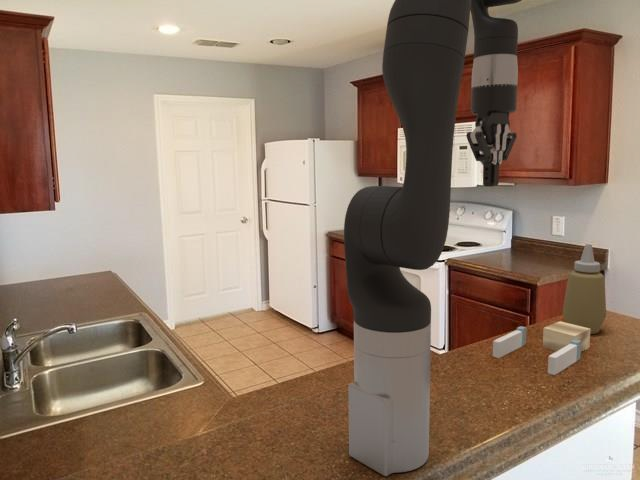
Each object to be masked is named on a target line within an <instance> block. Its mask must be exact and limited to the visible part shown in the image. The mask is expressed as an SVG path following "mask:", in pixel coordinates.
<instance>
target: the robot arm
mask: <svg viewBox="0 0 640 480" xmlns="http://www.w3.org/2000/svg"><path fill="white" fill-rule="evenodd" d="M521 1H523V0H394V2H393V3H392V5H391V8H390V11H389V14H388V19H387V23H386V24H387V25H386V32H385V36H384V37H385V39H384V47H383V52H382V53H383V54H382V71H381V73H382V77H383V82H384V85H385V88H386V91H387V93H388V96H389V99H390V101H391V105H393V108H394V110H395V112H396V115H397V116H398V120H399V122H400V124H401V126H402V130H403V134H404V138H405V139H404V140H405V150H406V151H405V153H406V155H405V170H404V177H403V178H404V179H403V184H402V186H390V185H389V186H387V185H369V186H365V187H363V188H361V189H359V190H358V191H356V193H354V195H353V196H352V197H351V199H350V201H349V203H348V206H347V209H346V213H345V215H344V216H345V217H344V224H343V243H344V244H343V246H344V247H343V248H344V260H345V263H344V264H345V276H346V277H345V278H346V279H345V280H346V293H347V296H348V300H349V302H350V304H351V306H352V311H353V378H354V379H353V382H350V383H349V384H348V389H347V390H348V391H347V392H348V395H347V396H348V455H349V457H351V458H353V459H355V460H357V461H358V462H360V463H361V464H363V465H365V466H366V467H368V468H370V469H371V470H374V471H375V472H377V473H378V474H381V476H384V477H388V476H389V475H391V474H394V473H405V472H410V471H413V470H417V469H419V468H421V467H422V466H423V465H425V464H426V462H428V459H429V454H430V450H429V449H430V410H431V409H430V404H431V403H430V399H431V397H430V395H431V347H432V345H431V343H432V340H431V338H432V337H431V336H432V304H431V300H430V299H429V297H428V296H427V295H426V293H424V292H422V291H421V290H420V289H418V288H417V287H416V286H414V285H413V284H412V283H411V282H410V281H409V280H408V279H407V278H406V277H405V276H404V274H403V273H402V271H401V268H402V269H409V270H415V271H423V270H427V269H429V268H431V267H433V266H434V265H435V264H436V263H437V261H438V260H440V257H441V255H442V253H443V250H444V247H445V244H446V242H447V238H448V230H449V222H450V210H451V195H452V194H451V192H452V191H451V190H452V171H453V170H452V169H453V168H452V167H453V148H454V138H455V128H456V121H457V120H456V118H457V111H458V110H457V109H458V102H459V94H460V89H461V81H462V76H463V71H464V65H465V60H466V59H465V57H466V52H467V51H466V50H467V44H468V36H469V29H470V28H469V27H470V18H471V19H472V20H471V21H472V26H473V35H474V39H473V40H474V42H473V63H472V70H471V90H470V91H471V93H470V95H471V96H470V97H471V98H470V112H471V113H472V114H473V115H476V120H475V123H474V126H475V127H474V129H473V131H468V132H467V133H466V139H467V142H468V144H469V146H470V149H471V151H472V153H473V157H474V159H475V161H476V162H480V163H481V165H482V166H483V167H482V168H483V171H482V185H483V186H484V187H497V186H499V182H500V181H499V179H500V178H499V177H500V165H502V162H504V161H505V162H506V161H507V160H508V158H509V155H510V154H511V150H512V149H513V146H514V145H515V141H516V140H517V137H518V136H517V132H512V131H511V130H510V126H511V123H510V117H509V116H510V114H512V113H515V112H516V111H517V102H518V100H517V99H518V80H519V79H518V78H519V67H518V41H519V39H518V38H519V27H518V23H517V22H516V21H515V20H514V19H511V18H510V19H509V18H502V17H501V18H500V17H494V16H490V14H489V8H493V7H500V6H507V5H513V4H517V3H519V2H521Z"/></svg>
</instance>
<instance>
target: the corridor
mask: <svg viewBox="0 0 640 480" xmlns="http://www.w3.org/2000/svg"><path fill="white" fill-rule="evenodd" d="M526 342H527V327H525V326H523V325H522V326H517V327H516V330H514V331H511V332H509V333H507V334H505V335H503V336H501V337H499V338H496V339H494V340H492V357H493V358H496V359H500V358H502V357H504V356H506V355H508V354H510V353H512V352H514V351H515V350H518V349H520V348H522V347H524V346H525V345H527V343H526ZM581 354H582V352H581V341H580V340H575V339H574V340H572V341H570V344H569V345H567V346H565V347H564V348H562V349H560V350H558V351H555V352H553V353H551V354H550V355H548V358H547V359H548V362H547V374H549V375H553V376H556V375H558V374H559V373H561V372H562V371H564V370H565V369H566V368H568V367H570V366H571V365H573V364H575V363H576V362H578V361H579V360H580V359H581Z"/></svg>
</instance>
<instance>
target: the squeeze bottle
mask: <svg viewBox="0 0 640 480" xmlns="http://www.w3.org/2000/svg"><path fill="white" fill-rule="evenodd" d="M593 250H594V249H593V245H592V244H585V245H584V248H583V251H582V254H581V257H580V260H575V261H574V266H573V268H574V270H572V271H571V272H569V273H568V277H567V282H566V283H567V284H566V288H565V294H564V301H563V304H562V305H563V306H562V314H563V318H564V320H565V321H564V322H565V323H569V324H573V325H577V326H581V327H585V328H590V329H591V330H590V335H595V334H598V333H599V332H600V330H601V328H602V325H603V324H604V321H605V319H606V317H607V305H606V301H607V300H606V299H607V298H606V279H605V276H604V274H603V273H601V272H600V271H601V263H600V262H598V261H595V256H594V251H593Z"/></svg>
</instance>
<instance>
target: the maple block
mask: <svg viewBox="0 0 640 480" xmlns="http://www.w3.org/2000/svg"><path fill="white" fill-rule="evenodd" d="M590 330H591V329H590V328H585V327H581V326H577V325H573V324H569V323H566V321H560V320H559V321H557V322H554V323H552V324H549V325H546V326H545V327H543V332H542V333H543V334H542V348H545V349H548V350H552V351H555V352H557V351H558V350H560V349H562V348H564V347H565V346H567V345H569V344H570V341H572V340H574V339H575V340H580V341H581V353H582V351H583V352H585V351H587V350H588V349H590V343H591V342H590V341H591V334H590ZM584 350H585V351H584Z"/></svg>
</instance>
